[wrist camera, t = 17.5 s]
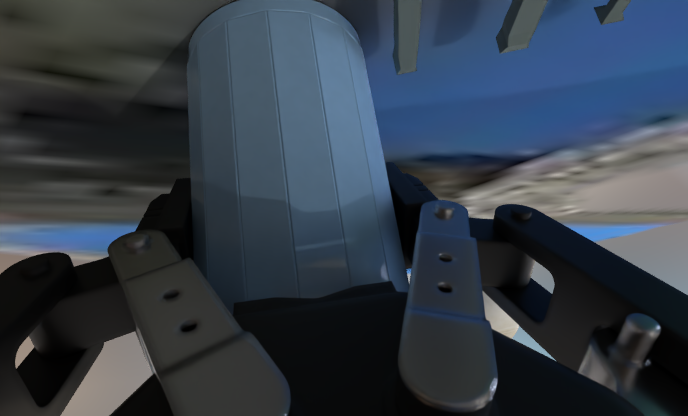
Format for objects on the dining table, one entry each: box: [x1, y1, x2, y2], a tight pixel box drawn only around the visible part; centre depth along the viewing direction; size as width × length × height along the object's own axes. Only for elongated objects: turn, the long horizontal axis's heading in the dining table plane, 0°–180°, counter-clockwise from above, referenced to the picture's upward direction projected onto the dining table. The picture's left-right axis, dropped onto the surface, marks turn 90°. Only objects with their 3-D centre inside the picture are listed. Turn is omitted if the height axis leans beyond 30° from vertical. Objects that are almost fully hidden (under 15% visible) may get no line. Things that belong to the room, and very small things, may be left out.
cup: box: [187, 0, 409, 315], centre depth 12 cm, size 6×6×10 cm
